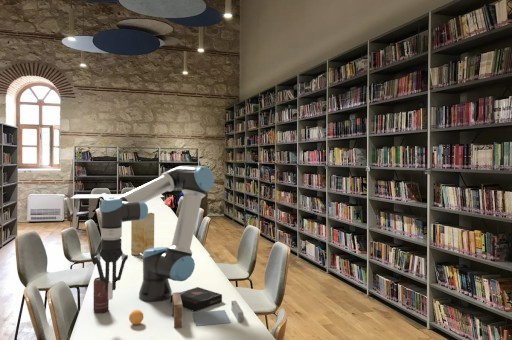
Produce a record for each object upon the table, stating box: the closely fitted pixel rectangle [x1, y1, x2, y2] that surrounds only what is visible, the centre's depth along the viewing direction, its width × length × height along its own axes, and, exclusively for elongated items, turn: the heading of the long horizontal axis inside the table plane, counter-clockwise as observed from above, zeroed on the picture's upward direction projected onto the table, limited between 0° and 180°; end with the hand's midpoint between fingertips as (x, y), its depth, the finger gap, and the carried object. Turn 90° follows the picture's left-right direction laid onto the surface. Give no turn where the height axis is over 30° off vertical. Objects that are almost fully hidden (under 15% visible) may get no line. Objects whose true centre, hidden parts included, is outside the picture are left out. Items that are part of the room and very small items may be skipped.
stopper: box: [231, 300, 244, 323], centre depth 175 cm, size 14×2×4 cm, turn 15°
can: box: [93, 277, 110, 314], centre depth 178 cm, size 6×6×14 cm
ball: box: [128, 309, 144, 325], centre depth 165 cm, size 6×6×6 cm
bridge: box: [171, 292, 183, 329], centre depth 169 cm, size 3×14×9 cm, turn 15°
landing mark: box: [192, 309, 231, 327], centre depth 173 cm, size 14×14×1 cm
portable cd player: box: [169, 286, 223, 312], centre depth 191 cm, size 16×17×4 cm
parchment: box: [130, 212, 155, 256], centre depth 273 cm, size 23×6×30 cm, turn 43°
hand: (110, 298), depth 162 cm, fingers closed
